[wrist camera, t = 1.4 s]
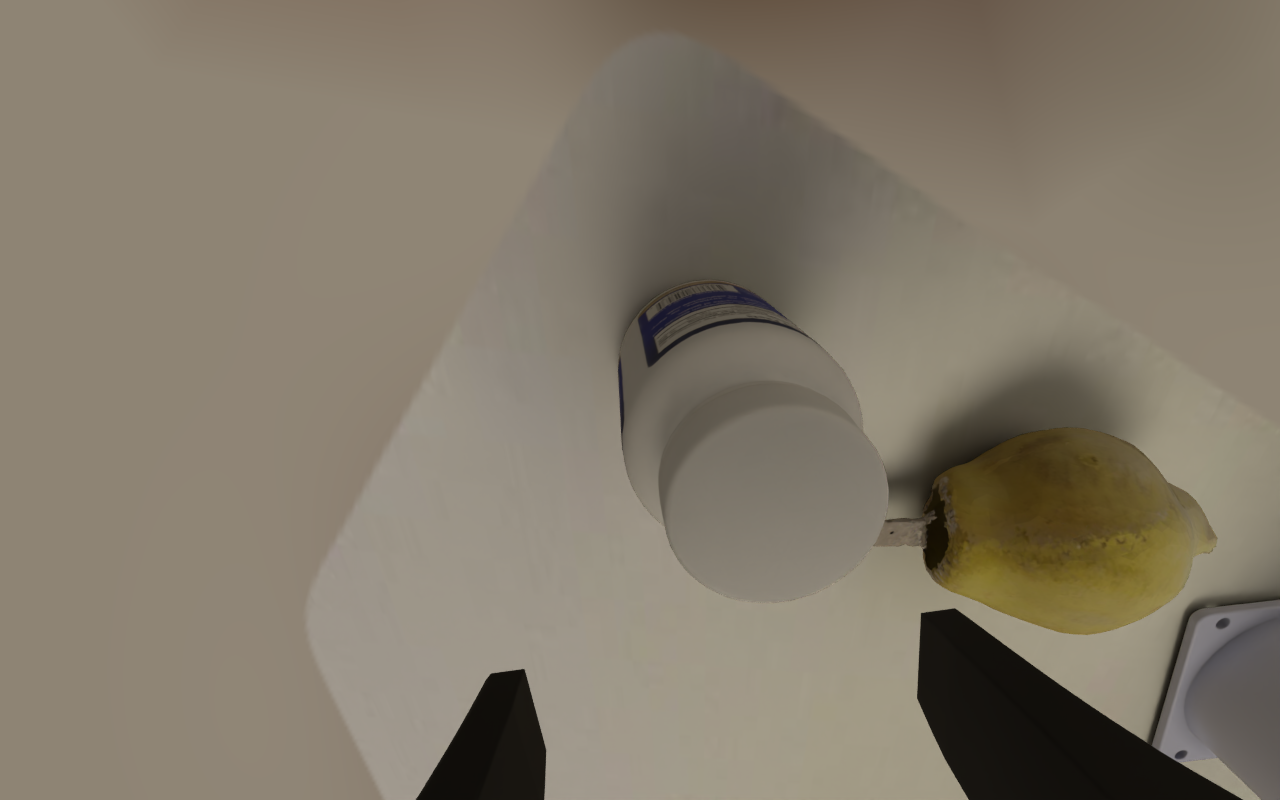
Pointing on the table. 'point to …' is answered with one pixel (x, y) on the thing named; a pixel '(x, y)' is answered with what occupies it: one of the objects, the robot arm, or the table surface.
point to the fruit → (1059, 531)
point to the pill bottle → (747, 444)
